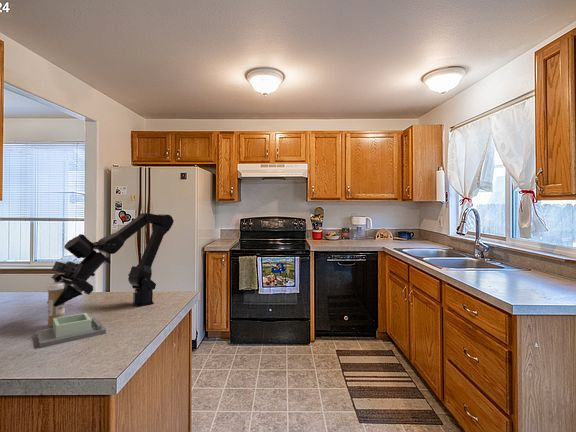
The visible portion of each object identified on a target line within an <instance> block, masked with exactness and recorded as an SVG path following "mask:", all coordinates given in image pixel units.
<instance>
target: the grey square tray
mask: <svg viewBox="0 0 576 432" xmlns="http://www.w3.org/2000/svg"><path fill="white" fill-rule="evenodd" d="M105 334H107V329H106V327H105V326H104V325H103V324H102V323H101V321H100V320H99V319H97V318H96V317H92V318H91V317H90V316H89V314H88V313H87V312H82V313H76V314H71V315H70V314H69V315H64V317H58V318H53V326H52V328H51V327H50V328H46V329H40V330H37V331H36V337H37V341H38V345H39V348H46V347H49V346H50V347H51V346H55V345H59V344H64V343H68V342H69V343H70V342H73V341H78V340H81V339H82V340H83V339H86V338H91V337H96V336H99V335H105Z"/></svg>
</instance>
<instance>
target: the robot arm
mask: <svg viewBox="0 0 576 432" xmlns="http://www.w3.org/2000/svg"><path fill="white" fill-rule="evenodd" d="M174 222H175V221H174V219H173V217H172V215H171V214H155V213H154V214H153V213H150V212H141V213H139V215H138V216H137V217H136V218H134V219H133V220H131V221H130V222H128V223H127V224H126V225H124V226H123V227H122V228H120V229H119V230H117V231H115V232H113V233H111V234H108V235H106V236H104V237H102V238H100V239H98V241H95V242H92V241H90V240H89V239H88V238H87V236H86V235H84V234H83V233H82V234H80V233H79V235H77V236H74V237H73V238H72V239H70V240H68V241H67V243H66V244H64V246H63V248H64V249H65V250H67V252H69V253H70V254H71V255H73V256H74V257H76V258H77V259H81V258H82V260H81V261H80V262H79V263H77V262H76V263H75V262H73V261H69V260H68V261H67V262H66V263H65V262H60V261H55V263H54V265H53V266H52V268H51V271H54V272H55V273H54V274H53V275H52V276H50V278H51V279H52V281H54V282H53V283H56V282H64V283H65V288H64V291H63V292H62V294H61V295H60V296H59V297H58V299H57V300H56V301H55V303H54V304H53V306H55V307H57V306H59V305H61V304H63V303H64V304H65V303H67V302H68V301H70V300H71V301H72V299H75V298H77V297H80V296H83V293H82V292H84V294H85V295H90V294H91V293H92V292H93V291H94V286H93V284H91V283H90V282H88V280H89V279H90V277H95V275H96V273H95V272H96V271H97V270H98V269H99V268H100V267H101V266H102V265H103V264H107V265H111V256H107V255H108V254H109V255H114V254H116V253H118V251H119V250H120V249H121V248H122V247H124V244H125V242H126V241H127V240H128V239H129V238H130V237H132V236H133V235H135V234H136V233H137V232H138V231H139V230H141V229H143V228H144V227H145V226H146V225H147V224H151V229H152V232H151V235H150V237H149V239H148V242H147V244H146V246H145V249H144V251H143V253H142V256H141V258H140V260H139V263H138V264H137V265H136V266H135V265H132V267H131V268H130V271H129V273H128V274H127V276H128V278H127V280H128V283H129V284H130V286H131V287H132V289H134V292H133V294H132V304H133V305H135V306H136V307H143V306H147V305H152V304H155V302H154V301H153V297H154V296H153V290H155V289H156V286H157V284H156V282H154V281H153V280H152V274H153V272H152V271H153V270H152V265H153V263H154V261H155V258H156V255H157V253H158V251H159V249H160V247H161V243H162V241H163V239H164V236H165V235H166V234H167V233H168V232H169V231H170V230H171V229H172V227H173V225H174ZM96 250H97V251H96ZM104 254H107V255H104ZM56 272H57V273H56ZM46 303H47V304H48V301H47V302H46Z"/></svg>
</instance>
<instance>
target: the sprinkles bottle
mask: <svg viewBox="0 0 576 432" xmlns="http://www.w3.org/2000/svg"><path fill="white" fill-rule="evenodd" d="M64 288H65V283H64V282H56V283H55V282H52V283H48V284H47V297H48V299H47V302H48V303H47V318H48V320H47V321H48V322H47V325H48V326H50V327H53V318H58V317H64V316H65V303H63V304H61V305H59V306H57V307H55V306H53V304H54V303H55V301H56V300H57V299H58V297H59V296H60V295H61V294H62V292H63V291H64Z"/></svg>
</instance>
